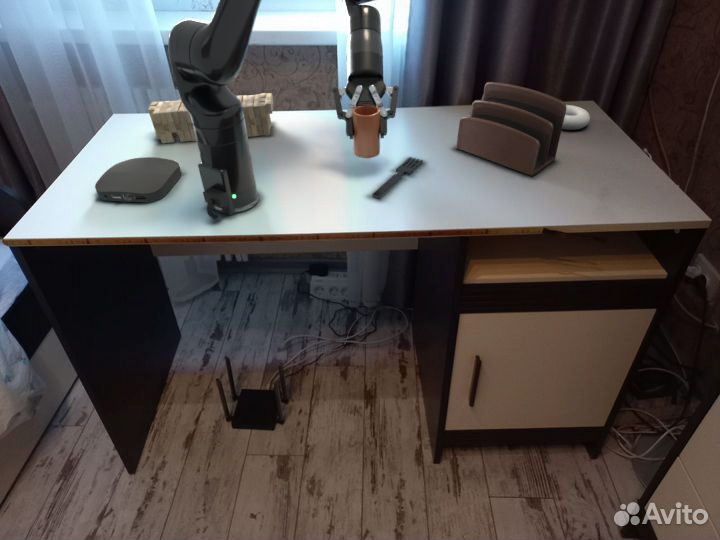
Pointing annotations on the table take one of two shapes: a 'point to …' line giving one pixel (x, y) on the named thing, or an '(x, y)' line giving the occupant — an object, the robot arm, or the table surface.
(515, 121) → the letter holder
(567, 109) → the donut
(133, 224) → the table surface
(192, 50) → the robot arm
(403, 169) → the fork
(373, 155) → the tumbler
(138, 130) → the table surface
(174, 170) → the media streaming box
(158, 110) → the block tower
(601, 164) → the table surface
